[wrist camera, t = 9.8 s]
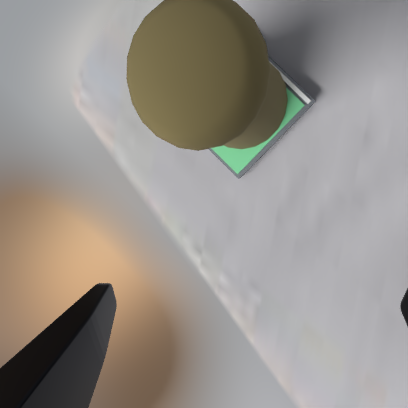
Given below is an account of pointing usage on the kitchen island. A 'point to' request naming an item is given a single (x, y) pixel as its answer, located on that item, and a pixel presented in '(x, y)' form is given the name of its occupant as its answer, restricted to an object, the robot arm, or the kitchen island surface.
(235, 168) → the plate
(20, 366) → the robot arm
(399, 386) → the kitchen island surface
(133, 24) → the kitchen island surface
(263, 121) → the cork
